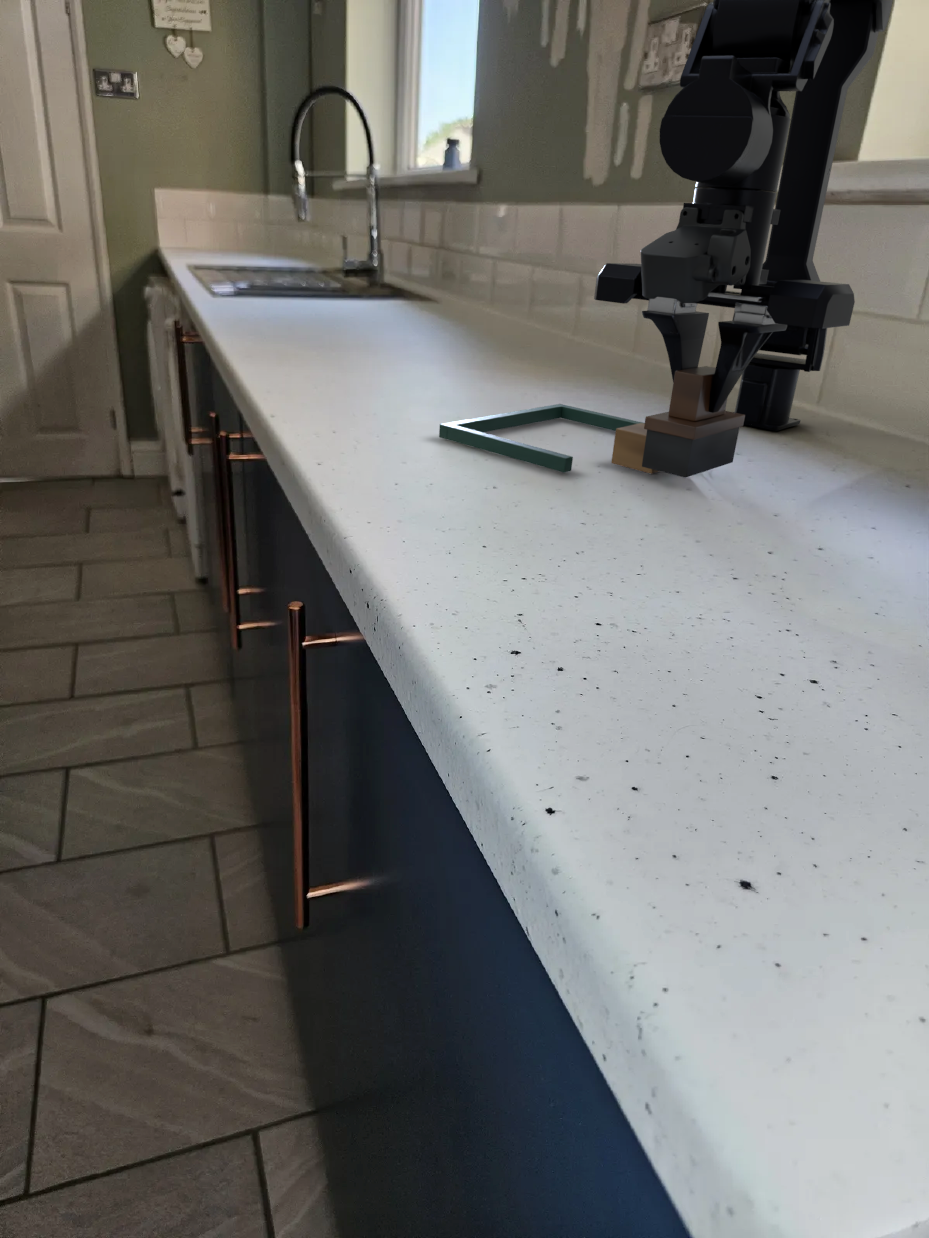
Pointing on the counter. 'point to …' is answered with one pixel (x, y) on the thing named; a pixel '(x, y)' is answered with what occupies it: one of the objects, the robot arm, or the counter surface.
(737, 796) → the counter surface
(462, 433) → the frame
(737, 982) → the counter surface
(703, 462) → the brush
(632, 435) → the cork block
